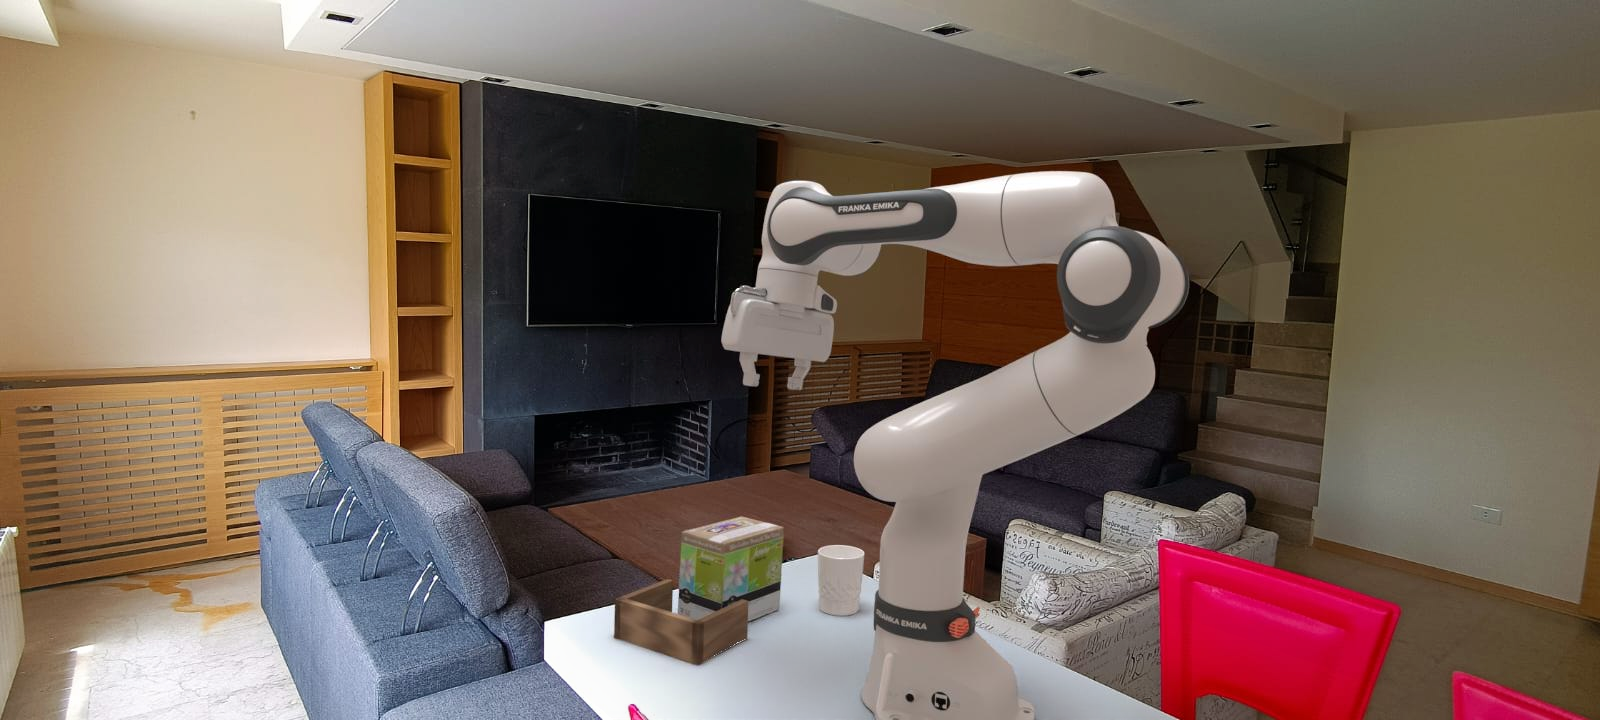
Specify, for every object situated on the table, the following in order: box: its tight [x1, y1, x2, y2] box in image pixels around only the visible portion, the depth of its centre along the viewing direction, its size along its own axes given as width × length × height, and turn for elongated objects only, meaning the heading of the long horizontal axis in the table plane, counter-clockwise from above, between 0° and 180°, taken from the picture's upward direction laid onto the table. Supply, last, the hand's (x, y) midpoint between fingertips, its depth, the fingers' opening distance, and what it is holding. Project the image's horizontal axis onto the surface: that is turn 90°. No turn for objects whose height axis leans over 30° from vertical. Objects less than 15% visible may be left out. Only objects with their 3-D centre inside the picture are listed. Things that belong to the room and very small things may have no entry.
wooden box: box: [613, 578, 749, 666], centre depth 134 cm, size 16×12×6 cm
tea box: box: [677, 516, 784, 622], centre depth 144 cm, size 15×10×15 cm
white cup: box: [817, 544, 865, 617], centre depth 148 cm, size 8×8×10 cm
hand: (772, 387), depth 127 cm, fingers open, 8 cm apart
